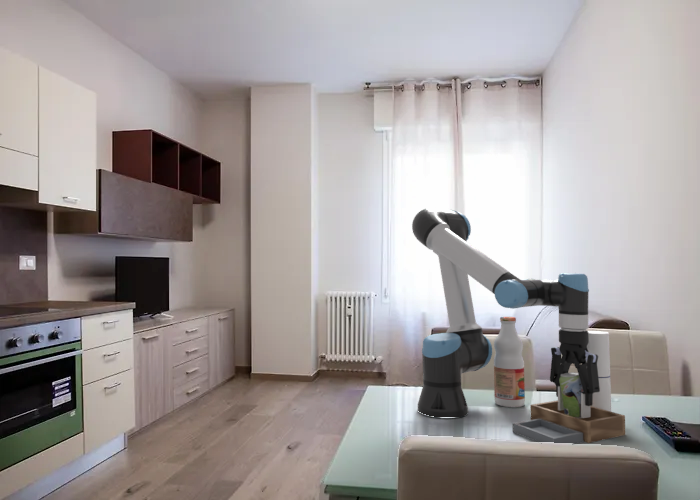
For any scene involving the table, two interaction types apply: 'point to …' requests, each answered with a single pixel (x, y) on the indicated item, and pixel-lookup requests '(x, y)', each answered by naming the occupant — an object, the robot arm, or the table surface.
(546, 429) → the tray
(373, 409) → the table surface
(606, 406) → the cylindrical container
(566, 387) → the beverage can
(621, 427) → the crate
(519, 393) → the fruit juice
